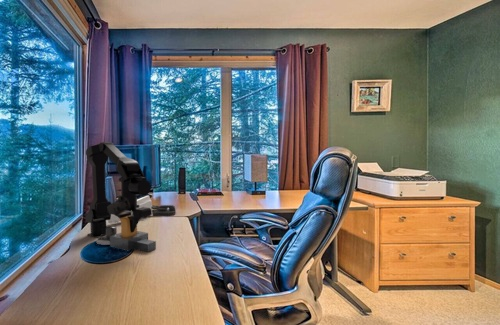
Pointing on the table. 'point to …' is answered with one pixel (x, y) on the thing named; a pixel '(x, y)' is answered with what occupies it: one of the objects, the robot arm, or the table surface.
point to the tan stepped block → (126, 228)
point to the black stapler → (163, 210)
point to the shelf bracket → (141, 202)
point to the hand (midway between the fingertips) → (129, 231)
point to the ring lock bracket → (127, 240)
